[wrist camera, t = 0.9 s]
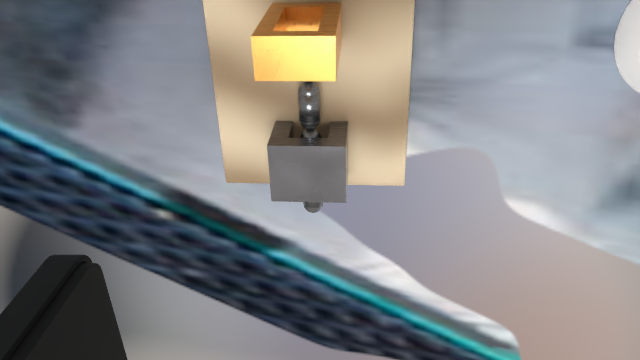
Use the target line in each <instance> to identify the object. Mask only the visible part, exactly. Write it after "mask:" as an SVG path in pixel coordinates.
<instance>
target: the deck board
mask: <svg viewBox="0 0 640 360" xmlns="http://www.w3.org/2000/svg"><path fill="white" fill-rule="evenodd" d="M272 3H342V45H341V52H340V58H339V65H338V71H337V78H336V81H313V82H315V83H316V84H317V85H318V86H319V89H320V113H321V120H320V123H319V125H318V126H317V127H316V128H315V129H317V130H318V131H319V132H320V134H321V138H328V136H329V129H330V123H331V121H348V184H347V185H395V186H398V185H399V186H404V180H405V179H404V178H405V162H406V145H407V127H408V110H409V92H410V75H411V57H412V40H413V22H414V5H415V0H203V6H204V14H205V21H206V29H207V37H208V45H209V52H210V60H211V68H212V75H213V83H214V91H215V99H216V106H217V114H218V122H219V130H220V137H221V145H222V153H223V160H224V168H225V176H226V182H227V183H270V176H269V165H268V153H267V144H268V141H269V138H270V136H271V133H272V130H273V127H274V124H275V121H293V133H294V138H300V135H301V133H302V131H303V130H304V129H306V128H304V127H303V126H302V125H301V124H300V121H299V105H298V88H299V86H300V85H301V83H303V82H305V81H255V78H254V67H253V56H252V45H251V35H252V34H253V32H254V30H255V29H256V27H257V26H258V24H259V23H260V21H261V19H262V18H263V16H264V15H265V13H266V12H267V10H268V9H269V7H270V5H271V4H272Z"/></svg>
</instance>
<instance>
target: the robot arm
mask: <svg viewBox="0 0 640 360" xmlns="http://www.w3.org/2000/svg"><path fill="white" fill-rule="evenodd" d="M0 360H127V357H126V353H125V350H124V346H123V342H122V339H121V335H120V332H119V328H118V325H117V321H116V318H115V314H114V311H113V307H112V304H111V300H110V297H109V293H108V290H107V286H106V283H105V279H104V276H103V272H102V269H101V267H100V266H99V265H98V264H96V263H92V261H91V259H90V258H89V257H88V256H86V255H52V256H49V257H48V258H47V259H46V260H45V261H44V262H43V264H42V265H41V266H40V267H39V269H38V270H37V271H36V272H35V273H34V275H33V276H32V277H31V278H30V280H29V281H28V282H27V283H26V284H25V285H24V287H23V288H22V289H21V290H20V291H19V293H18V294H17V295H16V297H15V298H14V299H13V300H12V301H11V302H10V304H9V305H8V306H7V307H6V308H5V310H4V311H3V312H2V313H1V314H0Z"/></svg>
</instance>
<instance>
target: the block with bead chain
mask: <svg viewBox="0 0 640 360" xmlns="http://www.w3.org/2000/svg"><path fill="white" fill-rule="evenodd" d="M251 45H252V56H253V67H254V78H255V81H305V82H303V83H301V85H300V86H299V88H298V105H299V121H300V124H301V125H302V126H303V127H304V128H306V129H304V130H303V131H302V133H301V135H300V138H321V134H320V132H319V131H318V130H317V129H315V128H316V127H317V126H318V125H319V123H320V120H321V113H320V89H319V86H318V85H317V84H316V83H315V82H313V81H336V78H337V71H338V65H339V58H340V52H341V45H342V3H272V4H271V5H270V7H269V9H268V10H267V12H266V13H265V15H264V16H263V18H262V19H261V21H260V23H259V24H258V26H257V27H256V29H255V30H254V32H253V34H252V35H251ZM303 204H304V207H305V209H306V210H307V211H308V212H311V213H315V212H318V211H319V210H320V209H321V208H322V206H323V202H303Z"/></svg>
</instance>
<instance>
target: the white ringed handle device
mask: <svg viewBox="0 0 640 360" xmlns="http://www.w3.org/2000/svg"><path fill="white" fill-rule="evenodd" d="M614 54H615V62H616V64H617V67H618V70H619V73H620V74H621V76H622V77H623V79H624V80H625V81H626V83H627V84H628V85H629V86H631V87H632V88H633V89H634V90H635V91H637V92H639V93H640V0H631V2H630V3H629V4H628V6H627V7H626V9H625V11H624V13H623V15H622V17H621V19H620V21H619V24H618V28H617V31H616V34H615V42H614Z"/></svg>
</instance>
